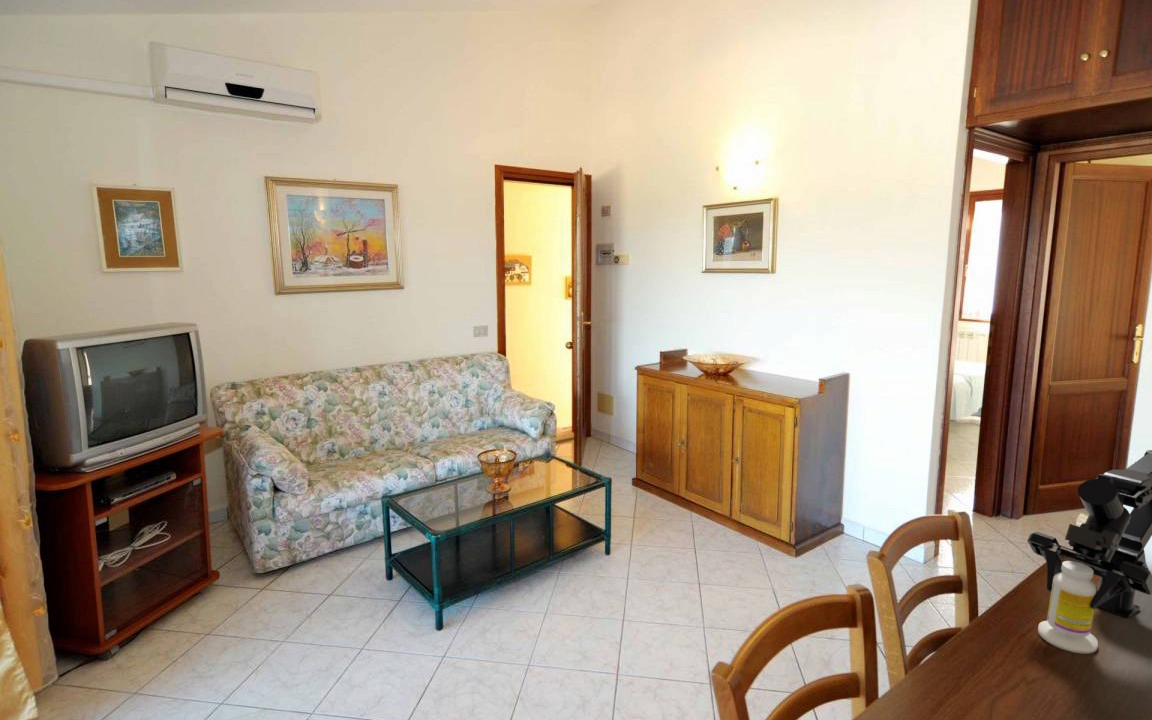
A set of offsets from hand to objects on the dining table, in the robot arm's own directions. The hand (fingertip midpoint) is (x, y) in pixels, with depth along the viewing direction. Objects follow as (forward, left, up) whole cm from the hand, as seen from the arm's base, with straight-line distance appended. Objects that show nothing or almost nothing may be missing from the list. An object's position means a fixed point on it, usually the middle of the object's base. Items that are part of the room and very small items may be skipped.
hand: (1069, 598), depth 117 cm
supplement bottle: (-1, 0, -7) cm, 7 cm away
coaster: (-1, 0, -9) cm, 9 cm away
